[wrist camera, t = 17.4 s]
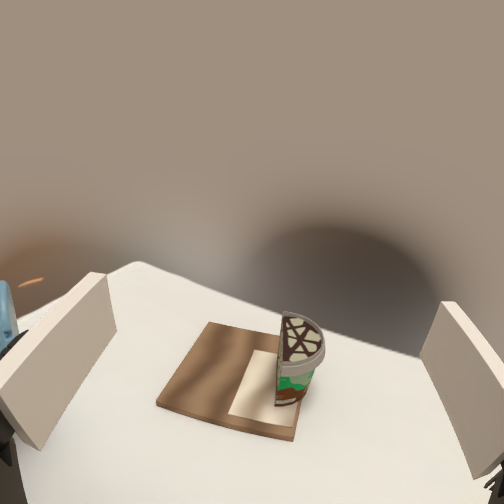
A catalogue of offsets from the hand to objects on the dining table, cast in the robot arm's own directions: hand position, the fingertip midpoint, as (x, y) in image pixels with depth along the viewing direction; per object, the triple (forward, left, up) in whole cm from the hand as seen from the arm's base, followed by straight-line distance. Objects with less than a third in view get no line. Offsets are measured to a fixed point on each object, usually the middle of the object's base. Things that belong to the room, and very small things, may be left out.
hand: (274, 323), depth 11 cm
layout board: (-7, +26, -30) cm, 40 cm away
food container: (+1, +24, -29) cm, 38 cm away
